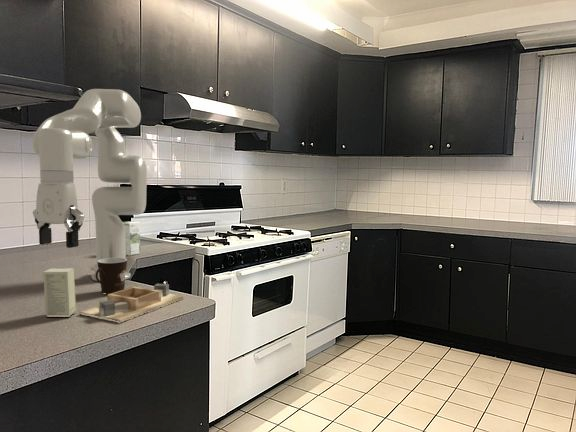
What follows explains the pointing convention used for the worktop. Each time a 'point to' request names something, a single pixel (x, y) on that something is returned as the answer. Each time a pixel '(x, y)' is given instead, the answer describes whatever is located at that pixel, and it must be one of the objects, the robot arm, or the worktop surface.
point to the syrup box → (132, 237)
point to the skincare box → (59, 291)
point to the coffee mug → (111, 274)
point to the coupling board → (133, 302)
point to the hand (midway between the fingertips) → (58, 245)
